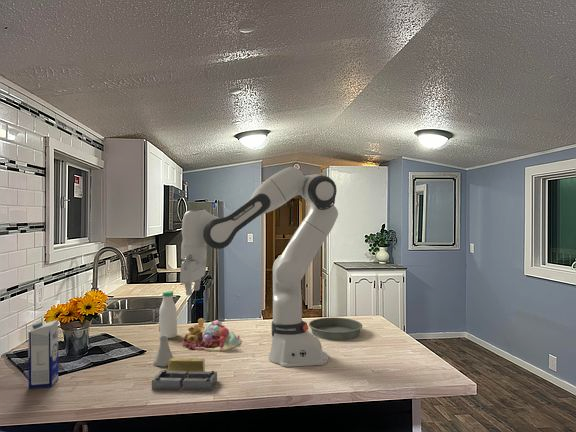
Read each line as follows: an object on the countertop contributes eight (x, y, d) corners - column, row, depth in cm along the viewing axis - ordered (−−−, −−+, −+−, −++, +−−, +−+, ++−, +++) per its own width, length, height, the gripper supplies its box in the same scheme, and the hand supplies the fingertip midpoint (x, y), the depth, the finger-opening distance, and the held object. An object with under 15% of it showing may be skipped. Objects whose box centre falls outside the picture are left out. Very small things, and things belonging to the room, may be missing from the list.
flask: (163, 368, 155) (163, 340, 154) (149, 364, 158) (149, 337, 158) (178, 362, 161) (178, 335, 161) (164, 359, 165) (164, 332, 164)
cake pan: (298, 336, 195) (298, 326, 195) (323, 324, 216) (323, 315, 216) (349, 345, 182) (349, 334, 182) (370, 331, 203) (370, 321, 203)
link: (187, 380, 144) (187, 370, 144) (179, 390, 136) (179, 379, 136) (160, 379, 144) (160, 369, 144) (151, 389, 136) (151, 378, 136)
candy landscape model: (173, 350, 176) (173, 327, 176) (195, 333, 200) (195, 313, 199) (232, 353, 172) (232, 330, 172) (248, 336, 195) (248, 316, 195)
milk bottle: (180, 335, 195) (180, 291, 195) (167, 340, 189) (167, 294, 188) (168, 333, 199) (168, 289, 199) (155, 337, 193) (155, 292, 193)
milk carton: (51, 386, 139) (51, 324, 138) (28, 388, 137) (27, 325, 137) (58, 378, 146) (58, 319, 145) (36, 380, 144) (35, 320, 144)
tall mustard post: (204, 372, 151) (204, 358, 151) (202, 375, 148) (202, 361, 148) (170, 372, 152) (170, 358, 151) (168, 375, 149) (168, 360, 149)
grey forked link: (217, 380, 143) (217, 370, 143) (211, 390, 135) (211, 380, 135) (190, 380, 144) (190, 370, 144) (183, 390, 136) (183, 379, 136)
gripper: (194, 257, 145) (193, 298, 145) (209, 251, 165) (208, 288, 165) (175, 256, 145) (174, 297, 145) (193, 251, 165) (192, 287, 166)
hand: (192, 292), depth 155 cm, fingers open, 8 cm apart
